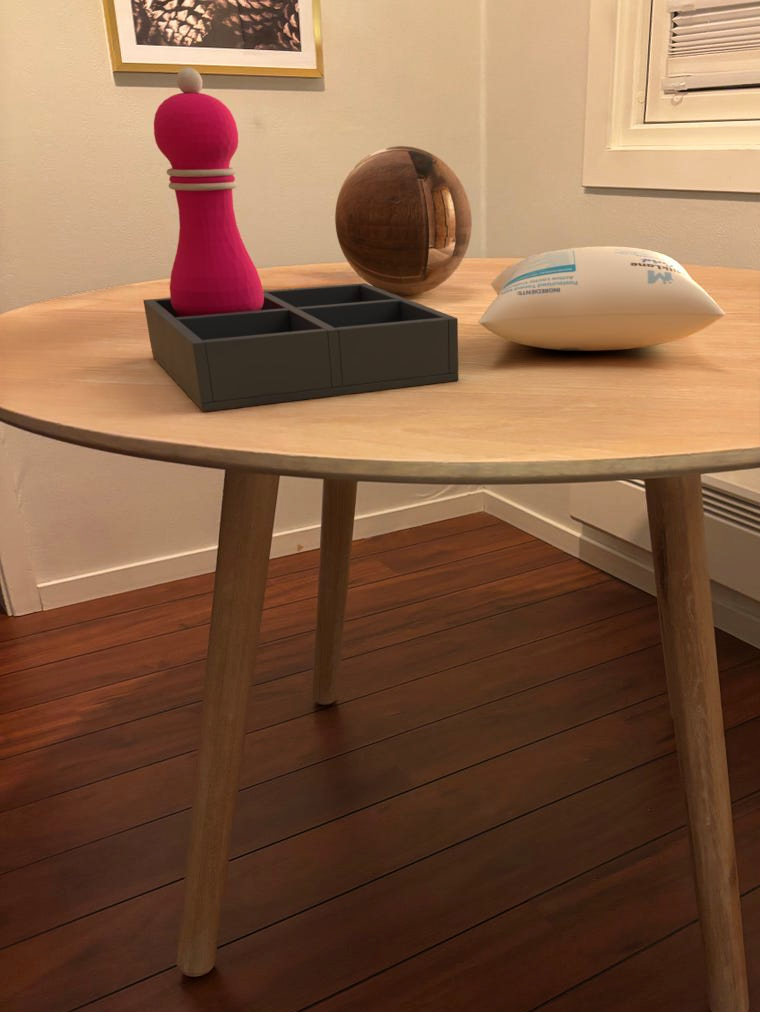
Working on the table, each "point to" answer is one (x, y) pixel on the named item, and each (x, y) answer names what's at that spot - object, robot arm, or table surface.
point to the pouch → (597, 300)
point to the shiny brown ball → (403, 220)
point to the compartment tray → (304, 346)
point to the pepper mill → (205, 204)
